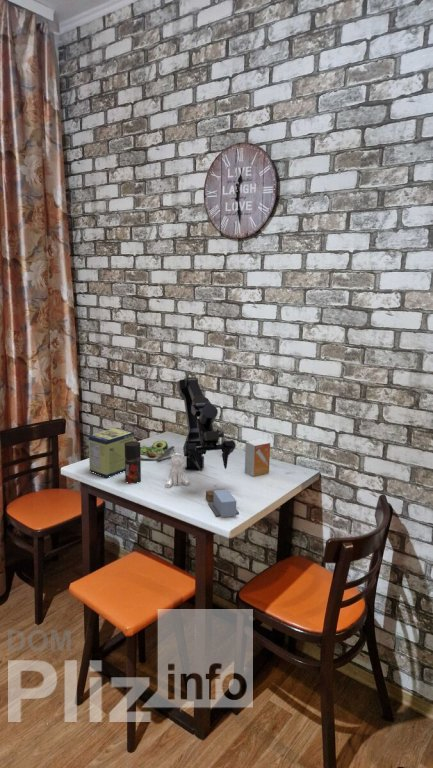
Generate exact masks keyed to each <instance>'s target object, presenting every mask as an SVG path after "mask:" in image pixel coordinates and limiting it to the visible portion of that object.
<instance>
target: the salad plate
mask: <svg viewBox="0 0 433 768" xmlns="http://www.w3.org/2000/svg"><path fill="white" fill-rule="evenodd" d="M174 449H175V446H174V445H172V446H169V445H168V443H167V441H165V440H157V441H155V442H153V443H152V445H142V446H141V445H140V451H141V461H149V462H150V461H151V462H152V461H163V460H165V459H169V458H171V457H170V455H174V451H173V450H174ZM144 456H148V457H144Z"/></svg>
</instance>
